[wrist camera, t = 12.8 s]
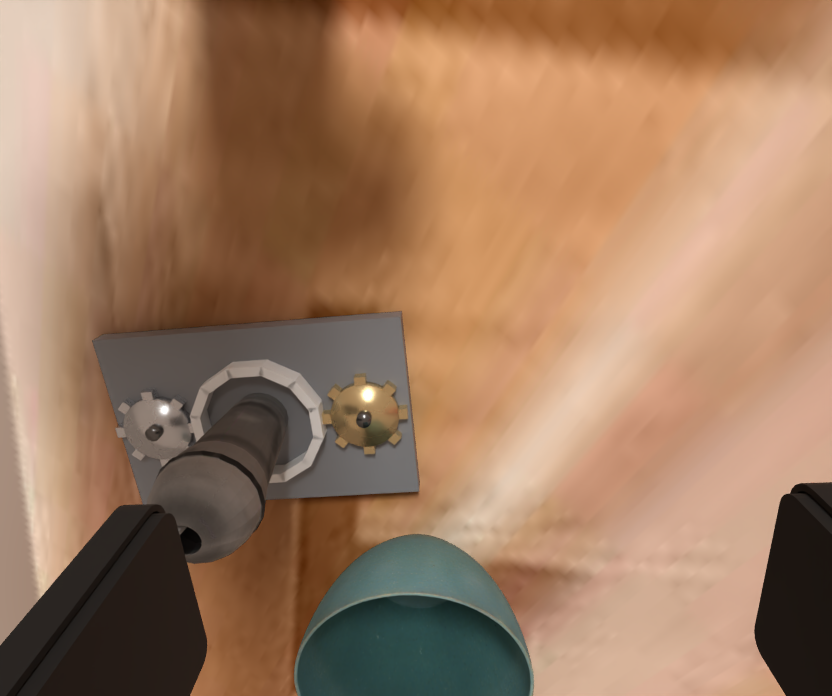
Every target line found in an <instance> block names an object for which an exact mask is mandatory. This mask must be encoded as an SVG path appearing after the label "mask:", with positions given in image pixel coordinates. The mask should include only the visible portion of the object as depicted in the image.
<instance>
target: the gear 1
mask: <svg viewBox="0 0 832 696" xmlns="http://www.w3.org/2000/svg"><path fill="white" fill-rule="evenodd" d="M141 396H142V399H140V400H139V401H137V402H136V403H135V402H133V401H132V400H131V399H129V398H127V399H126V400H125V401H123V403H122V404H121V405H120V407H119V408H118V410H119V411H121V412H122V413H124V414H125V417H124V423H122V424H119V425H118V426H117V427H116V428H115V429H116V432H117V436H118V438H120V437H127V439H128V441H129V442H130V443H131V445H132V446H133V447H134V448H135V451H134V452H133V453H132V455H133V456H134V457H136V458H137V459H139V460H140V461H141V460H142V459H143V458H144V457H145V455H146V456H148V457H151V458H155V459H160V462H161V465H162V467H163V466H164V465H165V464H166V463H167V462H168V461H169V460H170V459H172V458H174V457H176V456H178V455H179V454H180V453H181V452H183V451H184V450H186V449H187V448H189V447H191V446H193V445H194V444H195V443H194V442H191V441H192V439H193V435H194V431H193V427H192V423H191V419H190V415H189V414H188V412H187V411H186V410H185V409H184V408H183V405H184V404H185V403H186V401H187V400H185V399H184V398H182V397H181V396H180V395H177V396H176V397H175V398H174V399H173V400H171V399H169V398H166V397H162V396H158V394H157V390H156V388H148V389H144V390H143V391H142V392H141Z"/></svg>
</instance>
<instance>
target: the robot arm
mask: <svg viewBox="0 0 832 696" xmlns="http://www.w3.org/2000/svg"><path fill="white" fill-rule="evenodd" d="M754 633H755V640H756V644H757V647H758V650H759V652H760V654H761V656H762V658H763V659H764V661H765V662H766V664H767V666H768V667H769V669H770V671H771V672H772V674H773V675H774V677H775V679H776V680H777V682H778V683H779V685H780V687H781V688H782V690H783V692H784V693H785V695H786V696H832V482H829V483H800V484H797V485H795V486H794V487H793V488H792V490H791V493H790V494H786V495H784V496H783V497H782V498H781V501H780V504H779V509H778V514H777V519H776V524H775V529H774V534H773V539H772V544H771V549H770V554H769V559H768V564H767V569H766V574H765V579H764V583H763V588H762V593H761V598H760V603H759V608H758V613H757V618H756V623H755V630H754ZM206 652H207V638H206V634H205V630H204V626H203V622H202V619H201V615H200V611H199V607H198V603H197V599H196V596H195V592H194V588H193V584H192V580H191V577H190V573H189V569H188V565H187V561H186V558H185V554H184V550H183V546H182V542H181V538H180V535H179V531H178V527H177V523H176V520H175V517H174V516H173V515H172V514H170V513H165V510H164V508H163V507H162V506H161V505H158V504H143V505H123V506H120V507H118V508H117V509H116V510H115V511H114V512H113V513H112V514H111V516H110V517H109V518H108V519H107V520H106V521H105V523H104V524H103V525H102V526H101V527H100V529H99V530H98V531H97V532H96V533H95V534H94V536H93V537H92V538H91V539H90V540H89V542H88V543H87V544H86V545H85V546H84V547H83V549H82V550H81V551H80V552H79V553H78V555H77V556H76V557H75V558H74V559H73V560H72V562H71V563H70V564H69V565H68V566H67V567H66V569H65V570H64V571H63V572H62V573H61V575H60V576H59V577H58V578H57V579H56V580H55V582H54V583H53V584H52V585H51V586H50V588H49V589H48V590H47V591H46V592H45V593H44V595H43V596H42V597H41V598H40V599H39V600H38V602H37V603H36V604H35V605H34V606H33V608H32V609H31V610H30V611H29V612H28V613H27V615H26V616H25V617H24V618H23V620H22V621H21V622H20V623H19V624H18V625H17V627H16V628H15V629H14V630H13V631H12V632H11V633H10V635H9V636H8V637H7V638H6V639H5V641H4V642H3V643H2V644H1V645H0V696H190V694H191V692H192V690H193V687H194V685H195V683H196V680H197V678H198V676H199V673H200V671H201V669H202V667H203V664H204V661H205V657H206Z"/></svg>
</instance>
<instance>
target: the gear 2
mask: <svg viewBox="0 0 832 696" xmlns="http://www.w3.org/2000/svg"><path fill="white" fill-rule="evenodd" d="M396 387H397V386H396V385H394V384H393V383H392V382H390V381H389V380H387V381H386V382H385V384H384V385H383V386H381V385H379V384H377V383H373V382H367V377H366V373H360V374H355V375H354V383H352V384H349V385H348V386H346V387H344V388H343V389H342V388H341V387H340V386H338V385H337V384H336V383H335V384H334V386H333V387H332V388H331V389H330V390H329V392H328V394H327V395H328V396H329V397H330V398H332V399H333V400H334V402H333V404H332V407H331V410H323V413H322V420H323V424H332V425H333V427H334V429H335V431H336V432H337V433H338V434H339V435H338V436H337V437H336V440H335V443H337V444H338V445H340V446H341V447H342V448H344V447H345V446H346V445H347V444H348V442H349V443H351V444H354V445H357V446H362V447H364V454H375V452H376V445H379V444H382V443H384V442H385V441H387V440H388V441H390V442H391V443H392V444H394V445H395V444H396V443H397V442H398V441H399V440H400V439H401V437H402V433H401V432H400V431H399V430H397V426H398V423H399V419H408V406H407V405H399V406H398V403H397V401H396V399H395V397H394V396H393V393H394V392H395V391H396Z"/></svg>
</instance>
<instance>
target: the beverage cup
mask: <svg viewBox="0 0 832 696" xmlns="http://www.w3.org/2000/svg"><path fill="white" fill-rule="evenodd" d="M287 426H288V414H287V410H286V409H285V407H284V406H283V404H282V403H281V402H280V401H279V400H278V399H277V398H275V397H273V396H271V395H269V394H264V393H252V394H249V395H247V396H245V397H243V398H242V399H241V400H240V401H239V402H238V403H236V404H235V405H234V406H233V407H232V408H231V409H230V410H229V411H228V412H227V413H226V414H225V415H224V416H223V417H222V418H221V419H220V420H219V421H217V422H216V423H215V424H214V425H213V426H212V427H211V428H210V429H209V430H208V431H207V432H206V433H205V434H204V435H203V436H202V437H201V438H200V439H199V440H198V441H197V442H196V443H195V444H194V445H193V446H191V447H189V448H187V449H186V450H184V451H183V452H181V453H180V454H179V455H178V456H176V457H174V458H172V459H170V460H169V461H168V462H167V463H166V464H165V465H164V466H163V467H162V468H161V469H160V471H159V473H158V475H157V478H156V480H155V482H154V485H153V487H152V489H151V492H150V494H149V497H148V500H147V504H158V505H161V506H162V507H163V508H164V510H165V513H170V514H172V515H173V516H174V517H175V520H176V523H177V527H178V531H179V535H180V538H181V542H182V546H183V550H184V554H185V558H186V561H187V562H188V563H194V564H196V563H208V562H213V561H215V560H218V559H221V558H223V557H226V556H228V555H230V554H231V553H233V552H234V551H235V550H237V549H238V548H239V547H240V546H241V545H242V544H244V543H245V542H246V541H247V540H248V539H249V537H250V536H251V534H252V533H253V532H254V531H255V530H256V529H257V528H258V526H259V524H260V523H261V521H262V519H263V517H264V511H265V502H266V495H267V488H268V485H269V482H270V479H271V476H272V473H273V470H274V467H275V464H276V461H277V458H278V455H279V452H280V449H281V446H282V443H283V440H284V437H285V432H286V428H287Z"/></svg>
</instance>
